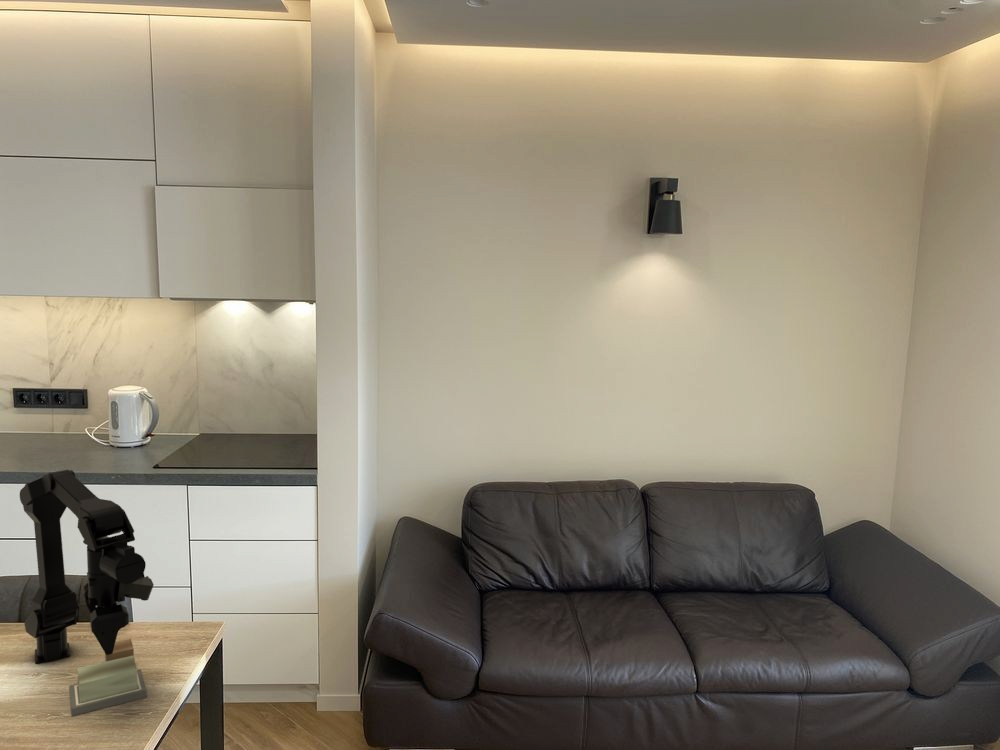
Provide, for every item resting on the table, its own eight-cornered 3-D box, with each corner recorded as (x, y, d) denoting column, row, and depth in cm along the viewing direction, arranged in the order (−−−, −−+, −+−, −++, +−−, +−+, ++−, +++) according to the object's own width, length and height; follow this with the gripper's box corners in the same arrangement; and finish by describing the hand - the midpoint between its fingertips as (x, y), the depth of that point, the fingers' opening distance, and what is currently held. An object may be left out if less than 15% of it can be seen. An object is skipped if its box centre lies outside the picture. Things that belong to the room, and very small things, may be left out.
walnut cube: (105, 665, 154) (104, 643, 153) (131, 659, 157) (130, 638, 156) (107, 676, 150) (106, 654, 149) (134, 670, 153) (133, 648, 152)
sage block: (78, 686, 143) (77, 668, 143) (133, 673, 149) (133, 655, 148) (80, 703, 138) (79, 683, 137) (137, 688, 143) (137, 670, 143)
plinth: (69, 692, 144) (69, 685, 143) (141, 675, 151) (140, 668, 151) (71, 716, 136) (71, 708, 136) (146, 697, 143) (146, 689, 143)
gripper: (157, 578, 137) (158, 654, 139) (142, 546, 152) (144, 615, 154) (90, 590, 131) (93, 669, 133) (82, 555, 146) (85, 627, 148)
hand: (106, 643), depth 142 cm, fingers open, 9 cm apart
